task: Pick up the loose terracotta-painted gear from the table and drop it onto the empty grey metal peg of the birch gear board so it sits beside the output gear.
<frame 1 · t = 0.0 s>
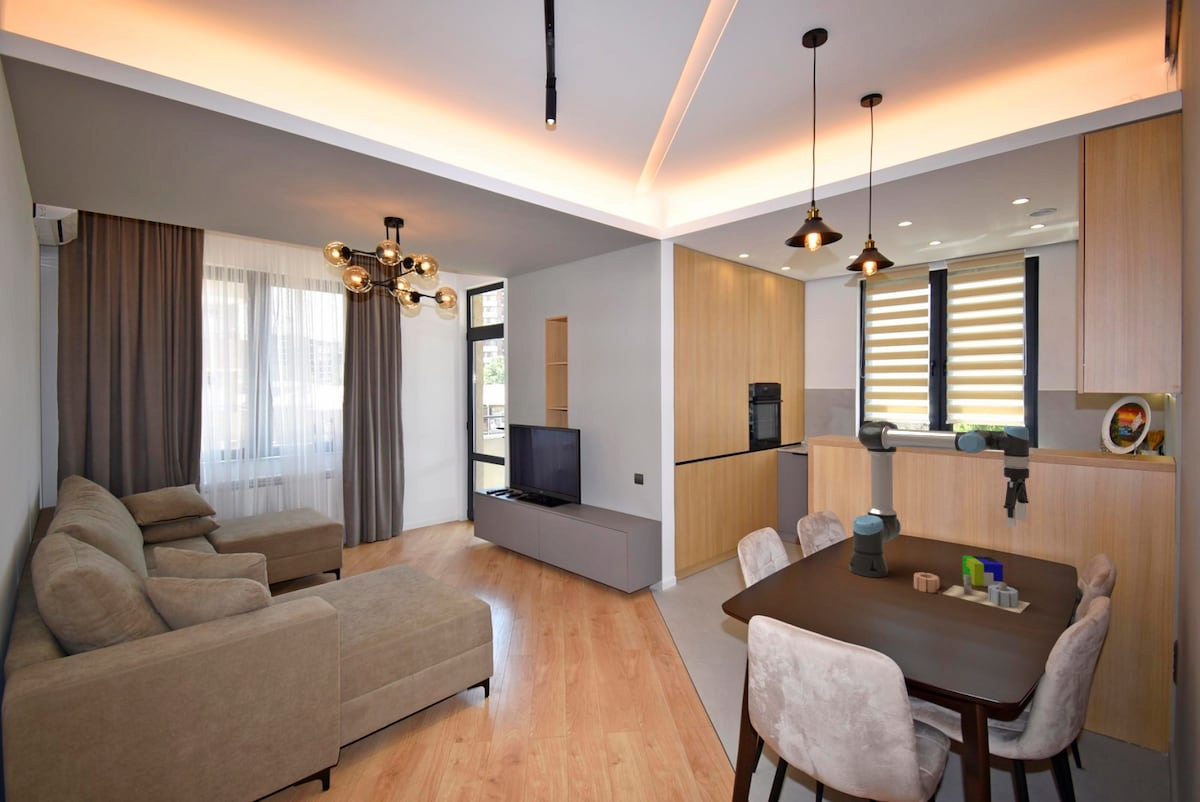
hand: (1016, 523, 203), 28 cm above the table, fingers open, 13 cm apart
puzzle toy: (982, 585, 217), on the table
loose gear: (926, 588, 213), on the table
gear board: (984, 601, 200), on the table
output gear: (1002, 602, 196), point 1 cm above the table, touching gear board
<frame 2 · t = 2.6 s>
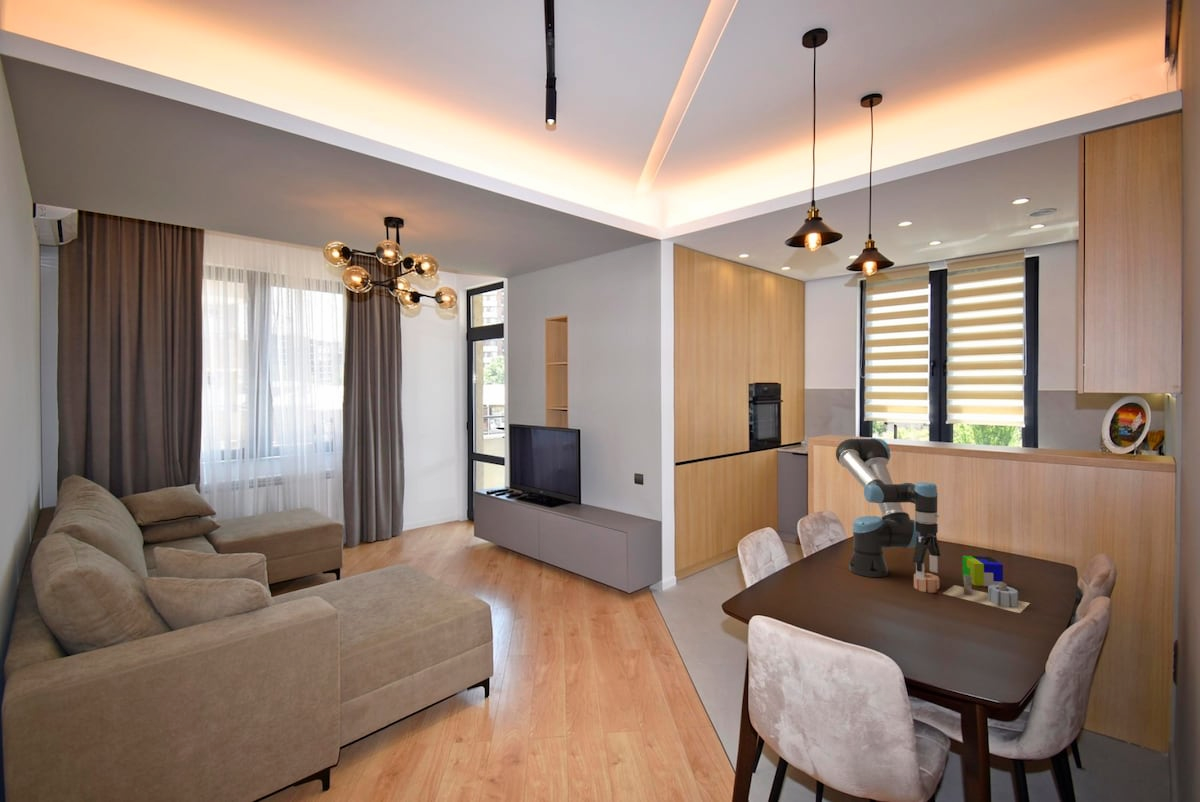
hand: (927, 575, 213), 5 cm above the table, fingers open, 13 cm apart
nothing on the table moved.
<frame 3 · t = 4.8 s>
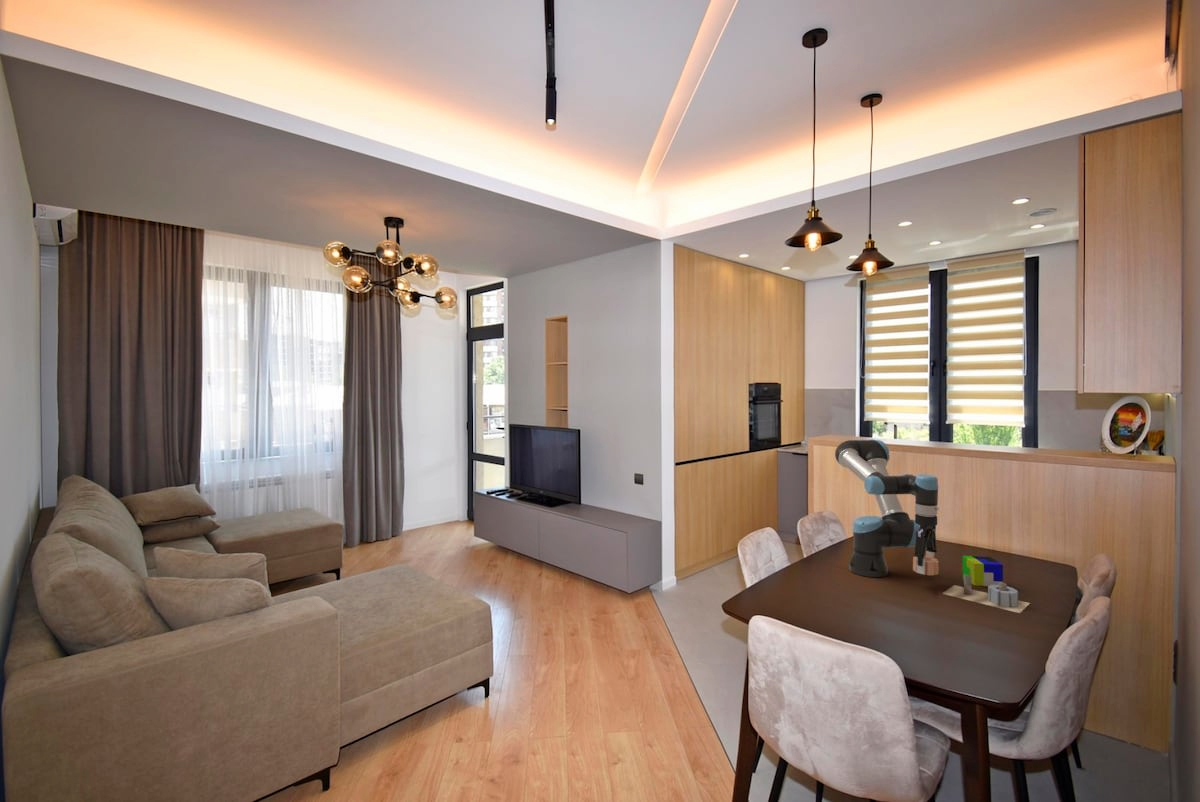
hand: (925, 570, 214), 7 cm above the table, fingers closed on loose gear, 8 cm apart
loose gear: (925, 571, 214), point 7 cm above the table, touching gripper
everything else where it was.
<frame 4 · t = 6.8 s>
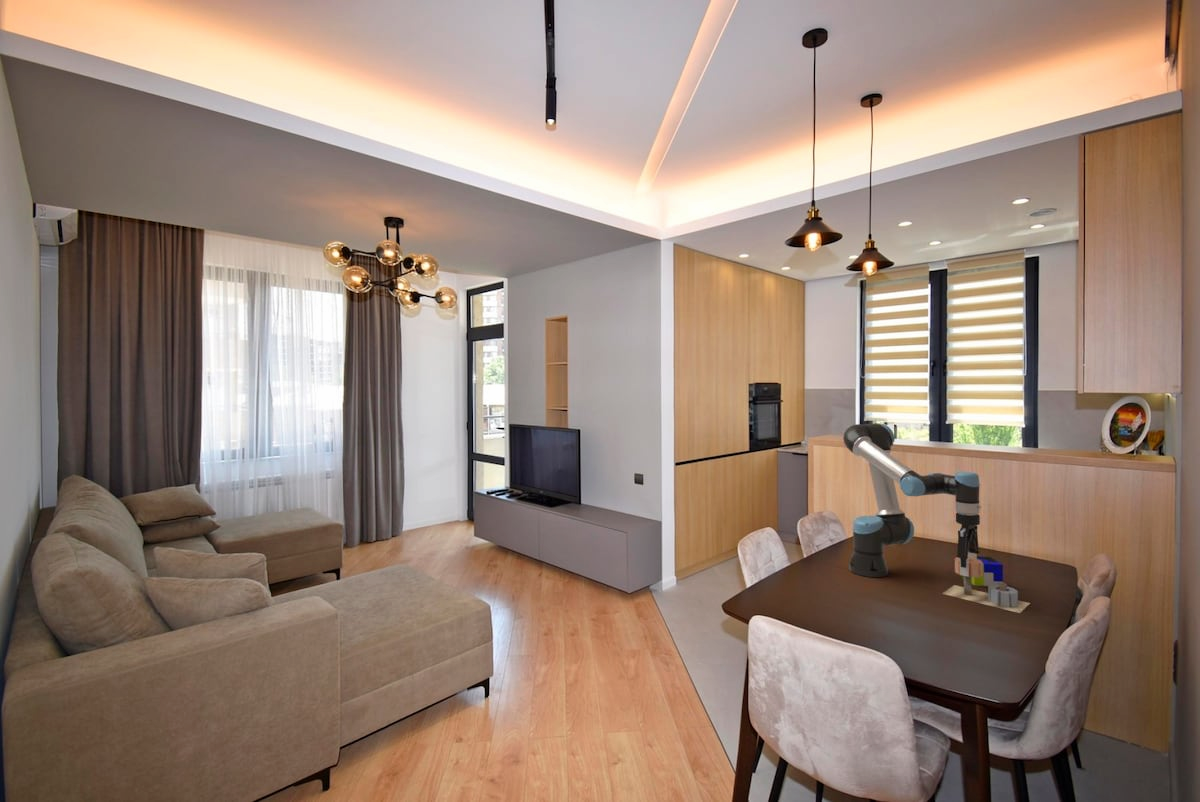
hand: (968, 572, 204), 9 cm above the table, fingers closed on loose gear, 8 cm apart
loose gear: (968, 573, 204), point 9 cm above the table, touching gripper
everything else where it was.
when the fingers open (2 cm above the table, at t = 8.8 s): loose gear stays where it is, resting on gear board.
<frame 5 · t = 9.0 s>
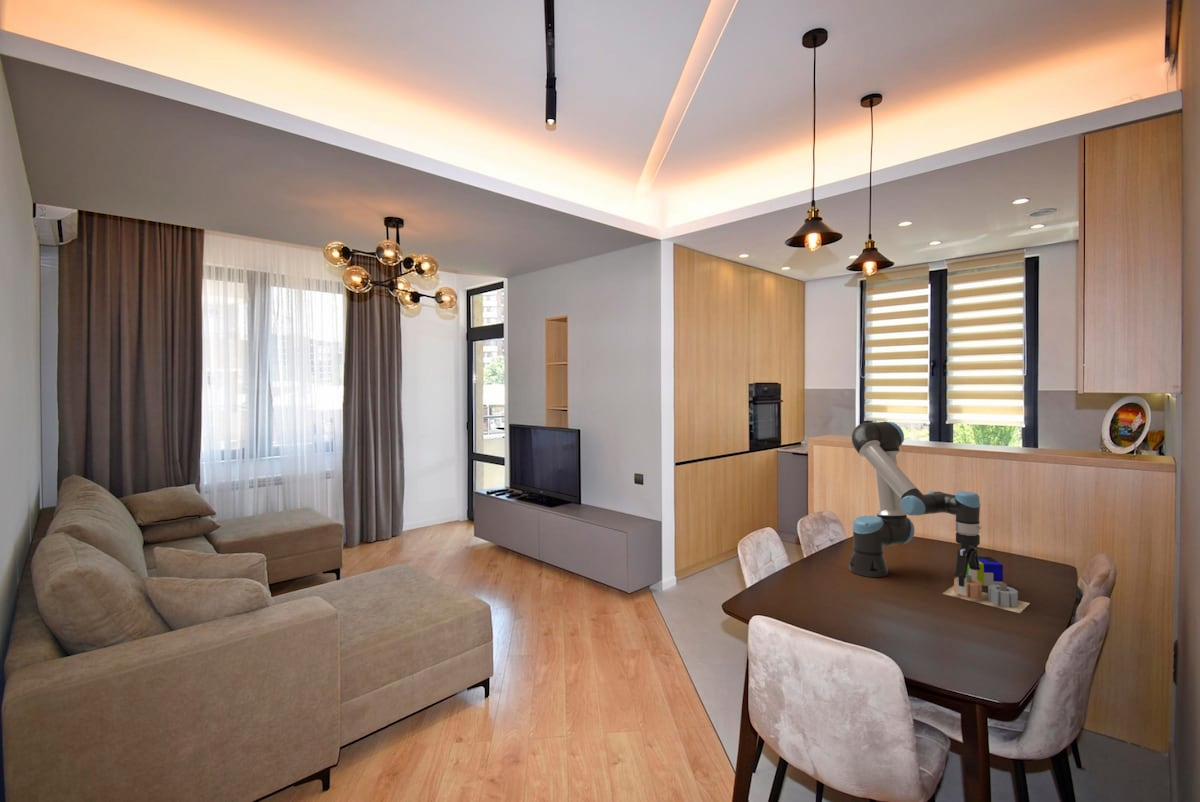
hand: (967, 590, 204), 3 cm above the table, fingers open, 11 cm apart
loose gear: (967, 594, 204), point 1 cm above the table, touching gear board
everything else where it was.
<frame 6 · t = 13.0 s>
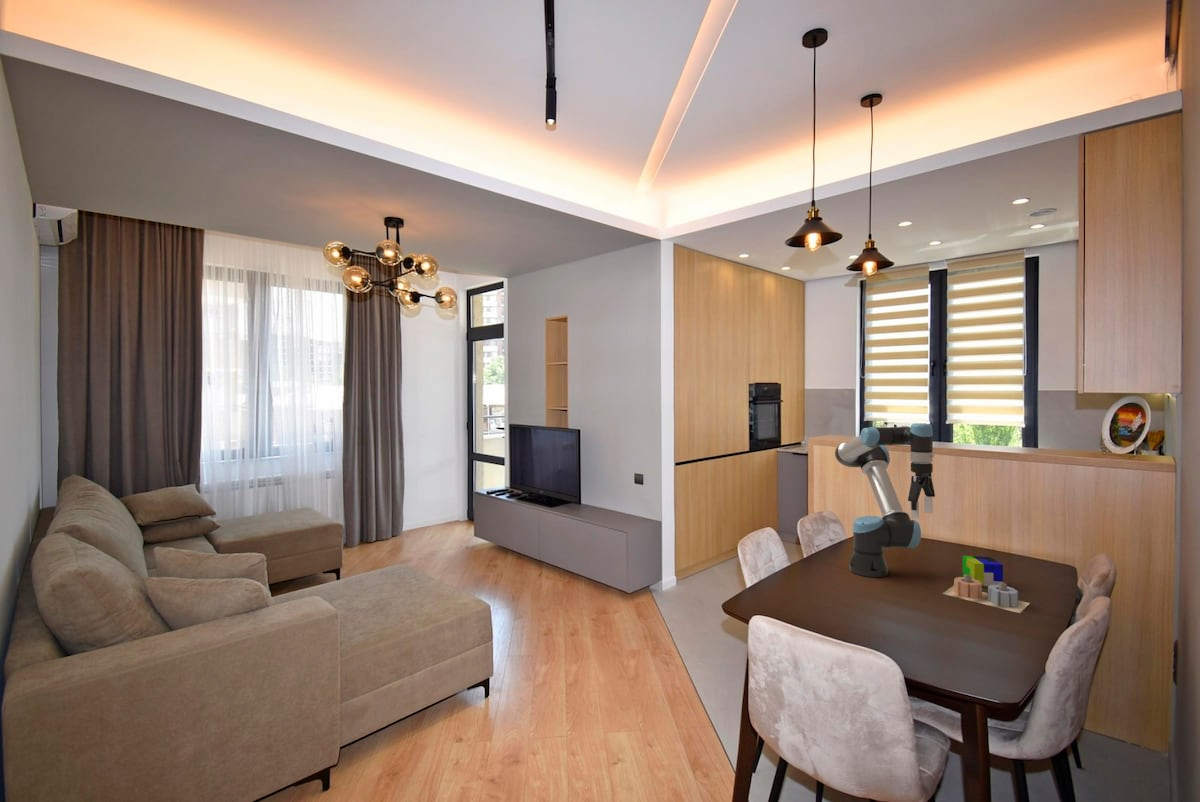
hand: (921, 515, 215), 29 cm above the table, fingers open, 13 cm apart
nothing on the table moved.
at the end: loose gear 0.0 cm from the target spot on the gear board, point 1.2 cm above the gear board's base; output gear moved 0.0 cm from its start; the gripper is holding nothing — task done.
